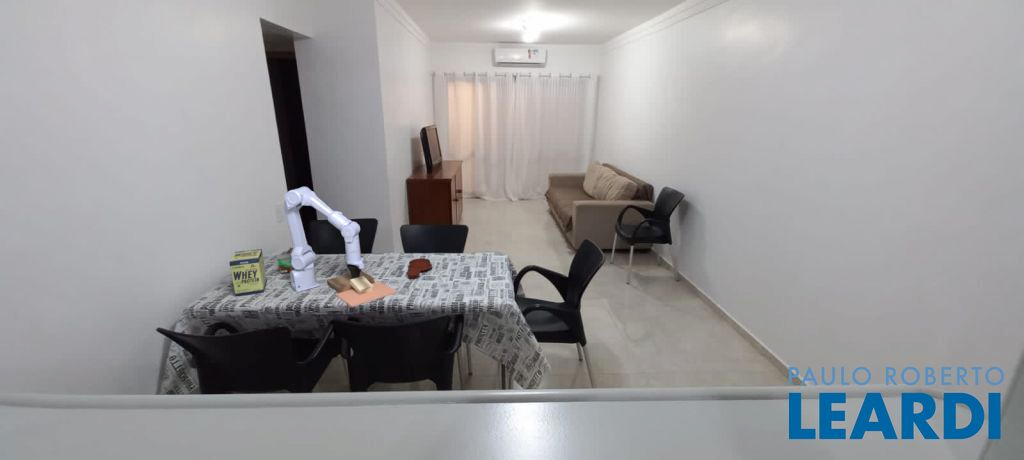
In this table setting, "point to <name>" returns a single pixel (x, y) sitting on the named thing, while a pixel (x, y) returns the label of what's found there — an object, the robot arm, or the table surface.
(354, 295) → the terracotta mat
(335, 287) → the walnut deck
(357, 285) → the birch tile
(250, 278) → the protein box
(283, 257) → the food container
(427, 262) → the steak
